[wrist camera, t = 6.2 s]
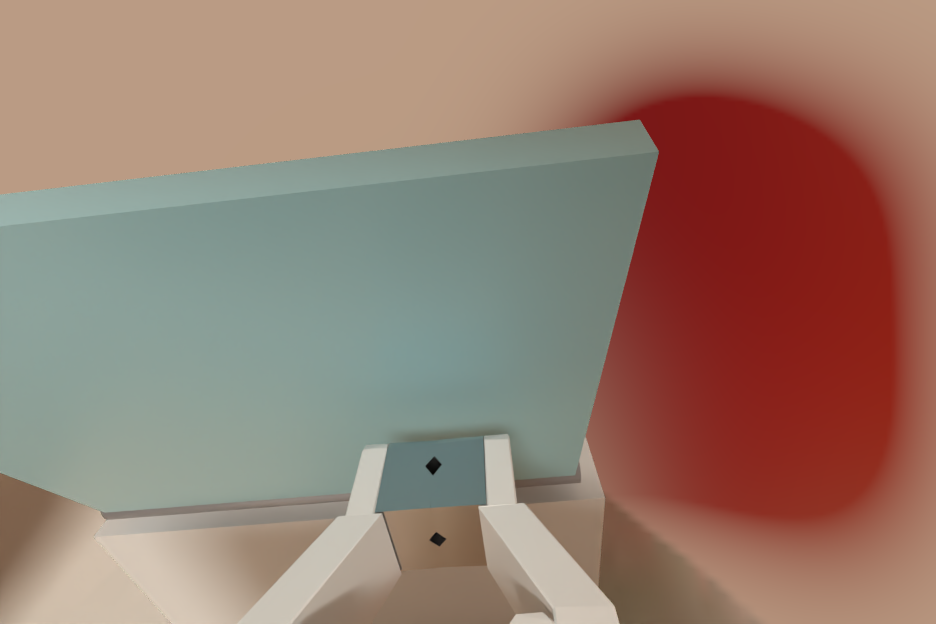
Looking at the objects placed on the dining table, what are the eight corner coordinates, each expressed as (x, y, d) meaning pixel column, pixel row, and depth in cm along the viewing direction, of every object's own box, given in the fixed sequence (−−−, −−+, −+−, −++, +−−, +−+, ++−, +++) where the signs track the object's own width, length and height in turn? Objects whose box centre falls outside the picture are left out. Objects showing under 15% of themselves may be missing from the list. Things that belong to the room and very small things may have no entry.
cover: (129, 494, 16) (116, 523, 16) (-433, 242, 7) (-523, 289, 6) (573, 457, 15) (579, 486, 15) (652, 114, 6) (677, 154, 5)
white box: (199, 654, 20) (92, 537, 16) (290, 448, 31) (242, 342, 26) (595, 629, 19) (605, 497, 15) (548, 426, 30) (546, 312, 25)
